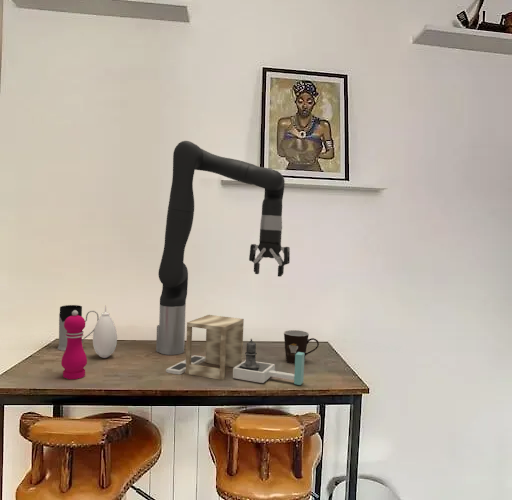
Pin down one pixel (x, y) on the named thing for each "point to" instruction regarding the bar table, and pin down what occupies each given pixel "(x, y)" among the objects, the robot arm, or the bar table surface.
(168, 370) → the pit trap board
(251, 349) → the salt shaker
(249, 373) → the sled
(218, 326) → the tunnel
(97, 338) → the sauce bottle
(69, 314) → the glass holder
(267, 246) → the robot arm
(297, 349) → the coffee mug
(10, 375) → the bar table surface
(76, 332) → the pepper mill
